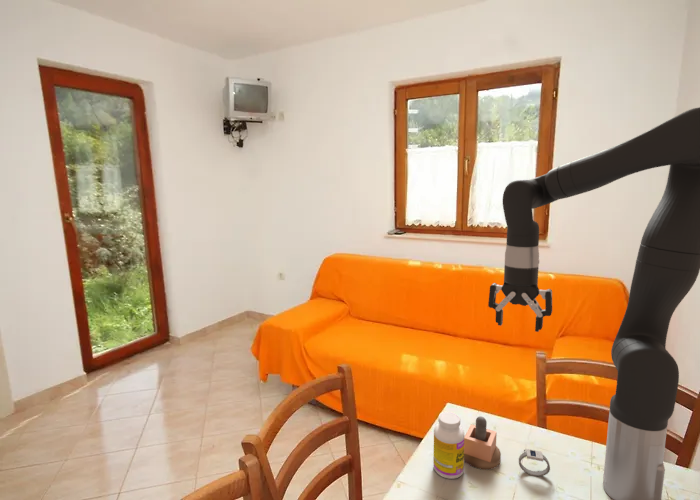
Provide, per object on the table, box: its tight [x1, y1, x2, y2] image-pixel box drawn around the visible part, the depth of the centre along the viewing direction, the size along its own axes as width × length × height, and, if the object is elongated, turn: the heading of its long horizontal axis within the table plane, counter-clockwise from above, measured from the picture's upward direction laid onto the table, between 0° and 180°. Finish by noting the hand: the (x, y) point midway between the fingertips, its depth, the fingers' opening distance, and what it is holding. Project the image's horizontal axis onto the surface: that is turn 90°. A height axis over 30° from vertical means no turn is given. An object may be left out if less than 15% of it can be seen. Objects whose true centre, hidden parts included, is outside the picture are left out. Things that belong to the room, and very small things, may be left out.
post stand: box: [464, 415, 502, 471], centre depth 91 cm, size 9×9×10 cm
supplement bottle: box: [432, 411, 465, 480], centre depth 87 cm, size 7×7×13 cm
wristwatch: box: [518, 448, 551, 477], centre depth 85 cm, size 6×3×5 cm, turn 70°
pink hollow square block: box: [464, 424, 497, 462], centre depth 91 cm, size 6×6×4 cm
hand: (518, 327), depth 96 cm, fingers open, 8 cm apart
